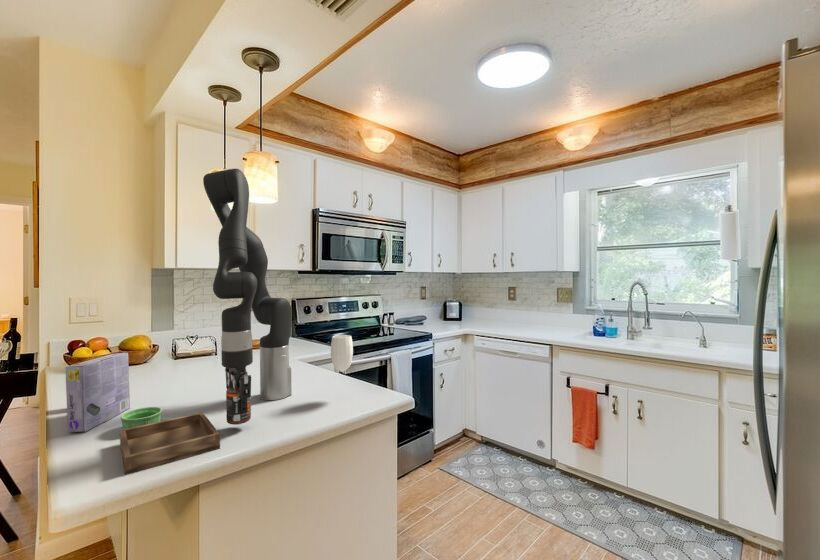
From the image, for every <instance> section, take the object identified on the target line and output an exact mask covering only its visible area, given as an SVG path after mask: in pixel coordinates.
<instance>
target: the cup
mask: <svg viewBox="0 0 820 560" xmlns="http://www.w3.org/2000/svg"><path fill="white" fill-rule="evenodd" d="M330 342H331V344H330V357H331V363H332V365H333V367H334V369H336V370H337V371H338V372H341V373H343V372H346V371H347V370H348V368H350V367H351V364H352V361H353V355H354V346H353V345H354V343H353V338H352V335H349V334H336V335H333V336H332V337H331V341H330Z"/></svg>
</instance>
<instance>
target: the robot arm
mask: <svg viewBox="0 0 820 560" xmlns="http://www.w3.org/2000/svg"><path fill="white" fill-rule="evenodd" d="M202 182H203V188H204V190H205V193H206V196H207V197H208V200H209V203H210V204H211V206H212V208H213V210H214V212H215V214H216V216H217V218H218V220H219V223H220V225H221V226H222V227H221V229H220V231H219V234H218V241H217V242H218V243H217V244H218V266H217V270H216V273H215V276H214V279H213V284H212V291H213V294H214V295H215V297H217V298H218V299H221V300H230V299H234V300H236V299H242V301H241V302H240V303H239V304H238V305H236V306H232V307H228V308H225V309H223V310H222V312H221V336H220V337H221V338H220V343H221V344H220V346H221V347H220V348H221V350H220V351H221V354H220V355H221V366H222V367H223V368H224V371H225V382H226V383H225V385H226V390H227V389H228V388H229V387H230V380H231V381H232V382H233V388H234V391H235V392H236V393H237V399H238V400H237V402H238V413H239V414H243V413H246V412H247V398H249V397H252V376H251V375H252V374H248V371H247V366H250V365H252V364H253V362H254V360H253V359H254V358H253V351H254V350H253V335H252V325H251V324H252V317H251V316H252V313H253V315H254V317H255V319H256V321H257V322H258V323H259V324H262V325H267V326H270V327H269V333H267V334H266V335H263V336H261V337H260V338H259V386H260V387H259V393H260V399H261V400H265V401H276V400H282V399H284V398H285V399H286V398H287V397H289V396H292V395H293V394H292V389H293V388H292V367H291V366H290V352H289V351H290V338H291V335H292V319H293V317H292V316H293V313H292V312H293V309H292V305H291V302H289V300H288V299H286V298H282V297H271V296H270V293H269V291H268V288H267V285H266V275H267V271H268V265H269V264H268V263H269V258H268V255H267V253H266V250H265V247H264V244H263V242H262V240H261V238H260V237H259V236H258V235H257V234H256V233H255V232H254V231H252V230H251V229H250V228H249V227H248V226H247V222H248V214H249V201H250V187H249V183H248V180H247V177H246V176H245V174H244V172H243V171H242V170H241V169H239V168H228V169H224V170H219V171H215V172H210V173H206V174H204V176H203V179H202ZM232 203H233V204H232ZM229 204H232V207H231V208H230V206H229ZM233 269H234V270H235V269H239V271H231V270H233ZM237 386H240V387H237ZM243 391H245V394H243Z"/></svg>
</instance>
